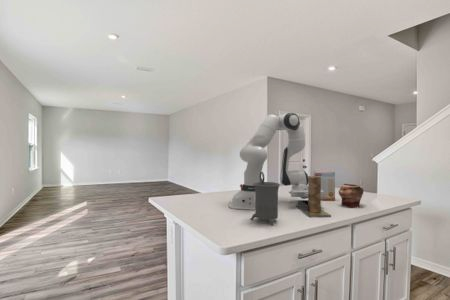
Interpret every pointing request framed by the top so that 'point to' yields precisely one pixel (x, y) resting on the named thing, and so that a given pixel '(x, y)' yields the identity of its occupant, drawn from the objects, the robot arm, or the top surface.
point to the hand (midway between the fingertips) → (311, 195)
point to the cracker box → (327, 184)
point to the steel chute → (305, 209)
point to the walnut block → (314, 193)
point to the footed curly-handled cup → (266, 200)
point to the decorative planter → (351, 195)
